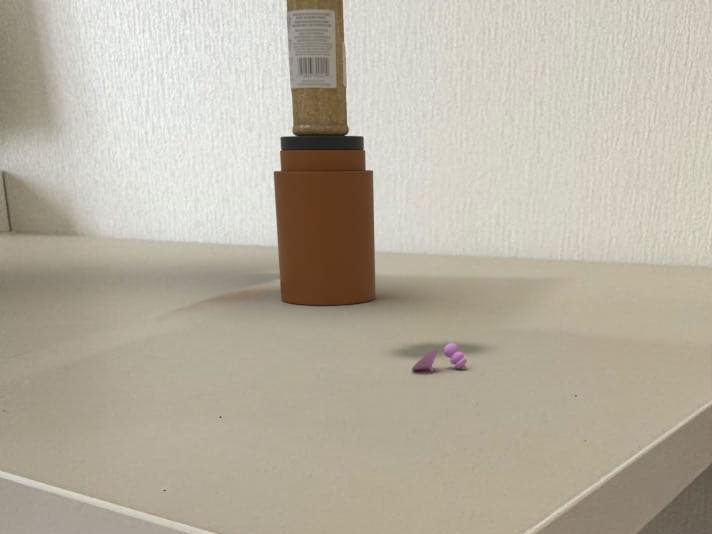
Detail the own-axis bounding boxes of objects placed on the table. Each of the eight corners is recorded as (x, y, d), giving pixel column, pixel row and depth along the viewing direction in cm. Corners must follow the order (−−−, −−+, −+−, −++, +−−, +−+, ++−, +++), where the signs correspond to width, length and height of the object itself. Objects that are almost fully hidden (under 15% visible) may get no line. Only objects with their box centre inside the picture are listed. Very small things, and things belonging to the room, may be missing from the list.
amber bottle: (265, 303, 72) (254, 136, 67) (303, 290, 79) (295, 138, 74) (356, 307, 70) (352, 135, 65) (387, 293, 77) (385, 136, 72)
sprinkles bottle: (358, 136, 71) (353, -62, 65) (332, 135, 67) (324, -76, 62) (308, 137, 72) (300, -57, 67) (280, 136, 69) (268, -69, 63)
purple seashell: (425, 397, 50) (433, 385, 48) (408, 374, 50) (416, 361, 48) (465, 370, 51) (474, 357, 49) (448, 348, 51) (457, 334, 49)
